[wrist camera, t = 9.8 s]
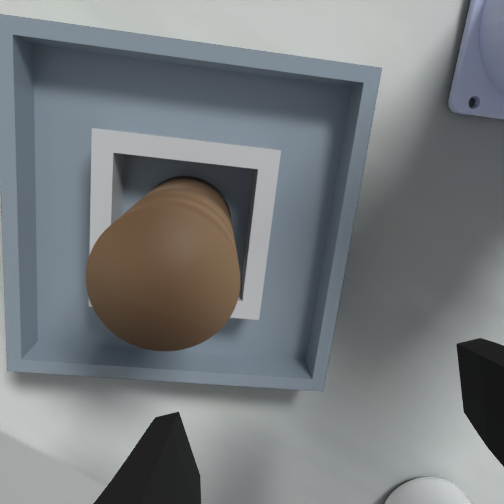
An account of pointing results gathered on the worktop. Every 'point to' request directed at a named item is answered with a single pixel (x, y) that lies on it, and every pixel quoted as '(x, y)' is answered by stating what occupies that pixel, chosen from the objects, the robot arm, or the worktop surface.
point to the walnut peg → (167, 267)
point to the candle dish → (168, 166)
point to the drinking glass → (428, 492)
